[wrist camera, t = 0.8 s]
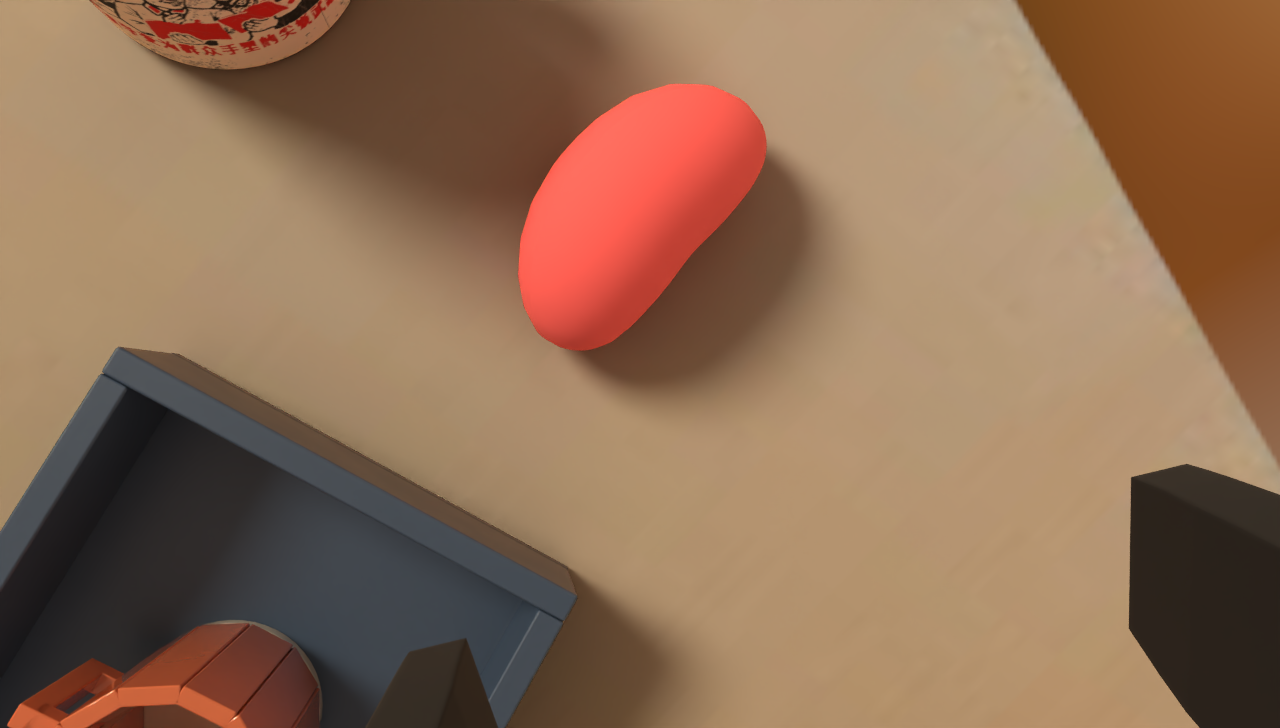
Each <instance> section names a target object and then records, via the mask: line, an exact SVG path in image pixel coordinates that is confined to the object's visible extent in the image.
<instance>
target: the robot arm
mask: <svg viewBox="0 0 1280 728" xmlns="http://www.w3.org/2000/svg"><path fill="white" fill-rule="evenodd" d="M1129 629H1130V631H1131V632H1132V634H1133V635H1134V637H1135V638H1136V640H1137V641H1138V643H1139V644H1140V646H1141V647H1142V649H1143V650H1144V652H1145V653H1146V655H1147V656H1148V658H1149V659H1150V661H1151V662H1152V664H1153V665H1154V667H1155V668H1156V670H1157V671H1158V673H1159V674H1160V676H1161V677H1162V679H1163V680H1164V681H1165V683H1166V684H1167V686H1168V687H1169V688H1170V690H1171V691H1172V693H1173V694H1174V696H1175V697H1176V698H1177V700H1178V701H1179V703H1180V704H1181V705H1182V707H1183V708H1184V710H1185V711H1186V712H1187V713H1188V715H1189V716H1190V717H1191V718H1192V719H1193V720H1194V722H1195V723H1196V724H1197V725H1198V726H1199V727H1200V728H1280V495H1278V494H1276V493H1273V492H1270V491H1267V490H1265V489H1262V488H1259V487H1256V486H1253V485H1250V484H1248V483H1245V482H1242V481H1239V480H1236V479H1233V478H1230V477H1227V476H1224V475H1221V474H1218V473H1215V472H1212V471H1209V470H1206V469H1202V468H1199V467H1195V466H1192V465H1188V464H1185V465H1180V466H1176V467H1172V468H1168V469H1164V470H1160V471H1156V472H1151V473H1147V474H1143V475H1139V476H1135V477H1131V527H1130V592H1129ZM365 728H498V726H497V723H496V720H495V717H494V715H493V712H492V709H491V706H490V703H489V701H488V698H487V695H486V692H485V689H484V686H483V684H482V681H481V678H480V675H479V672H478V670H477V667H476V664H475V661H474V658H473V655H472V653H471V650H470V647H469V644H468V641H467V639H466V638H464V639H459V640H455V641H451V642H447V643H443V644H439V645H435V646H430V647H426V648H422V649H418V650H414V651H410V652H409V653H408V654H407V656H406V657H405V659H404V660H403V662H402V663H401V665H400V667H399V668H398V670H397V672H396V674H395V675H394V677H393V679H392V681H391V682H390V684H389V686H388V688H387V690H386V691H385V693H384V695H383V697H382V699H381V700H380V702H379V704H378V706H377V707H376V709H375V711H374V713H373V715H372V716H371V718H370V720H369V722H368V723H367V725H366V727H365Z"/></svg>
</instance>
